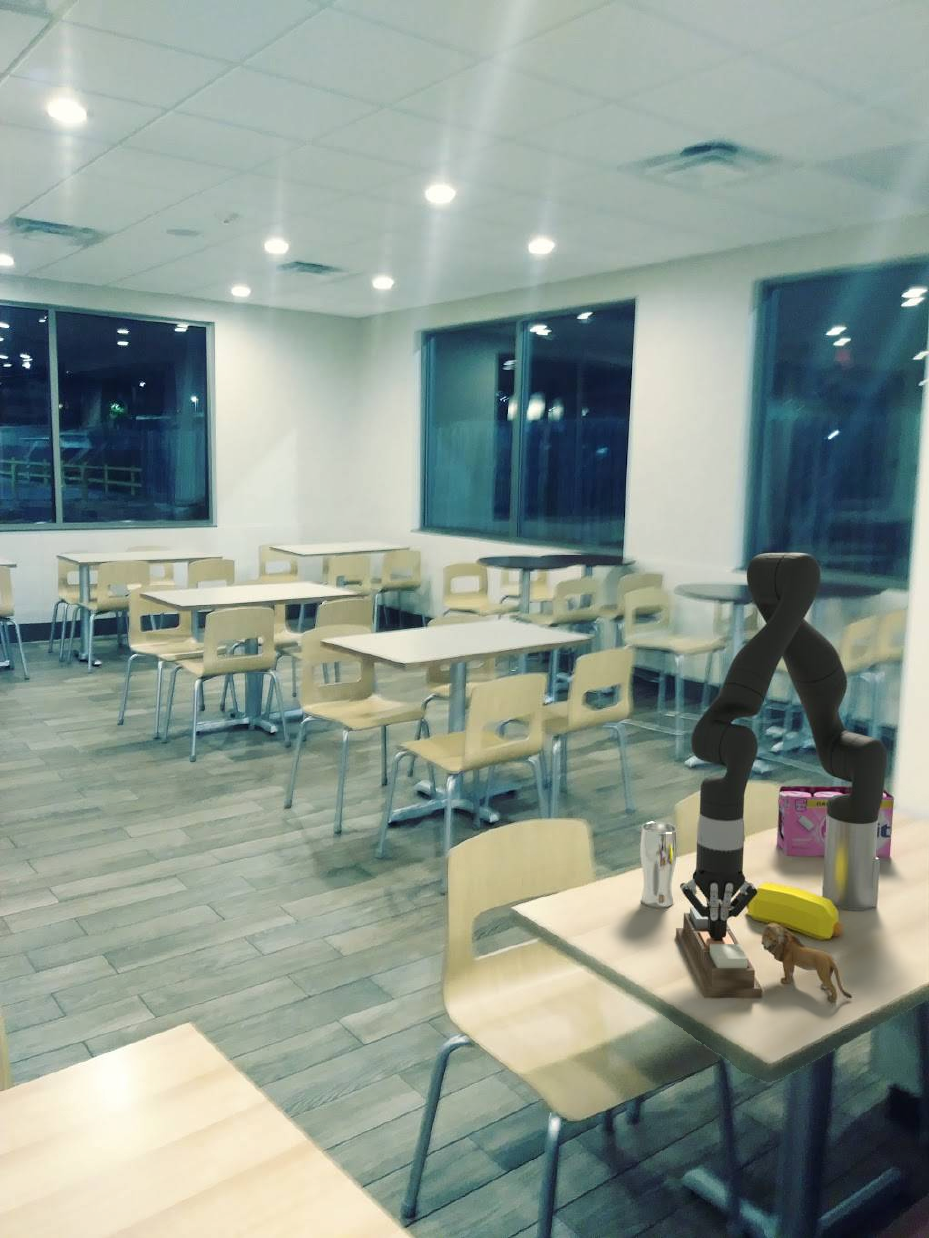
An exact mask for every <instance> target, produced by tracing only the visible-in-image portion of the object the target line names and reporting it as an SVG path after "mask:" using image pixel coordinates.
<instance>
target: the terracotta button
mask: <svg viewBox="0 0 929 1238" xmlns="http://www.w3.org/2000/svg"><path fill="white" fill-rule="evenodd" d="M699 937H700V939H701V941H702V943H703V945H704V946H705V947H710V944H734V942H733V940H732V939H731V937H730V935H729V934H728V932H726V936H725V937H723V940H722V941H713V939H712V937H710V935H709V934H708V932H699Z"/></svg>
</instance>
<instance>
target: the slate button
mask: <svg viewBox="0 0 929 1238" xmlns="http://www.w3.org/2000/svg"><path fill="white" fill-rule="evenodd" d="M689 913H690V919H691V921H692V923H693V925H694V927H695V928H708V917H702V916H701V915H700V914H699V913H698V912H697V910H696V909H695V908H694V906H690V907H689Z"/></svg>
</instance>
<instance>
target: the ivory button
mask: <svg viewBox="0 0 929 1238" xmlns="http://www.w3.org/2000/svg"><path fill="white" fill-rule="evenodd" d="M710 958H711V960H712V962H713V964H714V966H715V968H748V960H749V958H748V956H747V955H746V953H745V951H744V949H743V948H742V946H741V944H740V943H739V944H710Z"/></svg>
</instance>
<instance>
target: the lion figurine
mask: <svg viewBox="0 0 929 1238" xmlns="http://www.w3.org/2000/svg"><path fill="white" fill-rule="evenodd" d="M766 924H767V925H763V931H762V932H763V933H762V936H761V945H762V946H763V949H764V950H765V951H767V952H768V953H770V954H771V955H772V956H773V959H774V960H775V961H778V962H780V963H782V967H783V972H784V977H781V978H780V981H781V983H782V984H788V983H789V982H790V981H791V978H792V977H793V975H794V973H795V967H798V968H800V969H802V970H805V971H816V973H817V975H818V978H819V979H820V981H821V984H820V988H821V989H823V990H828V991H829V992H830V993H831V994H829V995H827V1000H828V1001H829V1002H831V1003H833V1002H836V1001H837V999H838V992H837V988H836V986H835V985H834V984H833V980H832V975H833V972H834V976H835V979H836V983H837V986H838V988H839V990H840V992H841V993H842V994H843V996H844V997H846V998H847V999H852V998H853V997H852V995H851V994H850V993H849V992H847V991H845V989H844V988H843V986H842V982H841V978H840V977H841V976H840V973H839V970H838V967H837V964H836V962H835V959H834V958H833V956H832V955H830V953H828V952H827V951H824V950H817V949H814V948H810V947H808V946H805V945H804V944H803V943H802V942H801V941H800V939H799V938H798V936H796V934H794V932H791V931H789V928H787V927H782V926H781V925H777V924H774V923H771V924H769V923H766Z"/></svg>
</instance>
